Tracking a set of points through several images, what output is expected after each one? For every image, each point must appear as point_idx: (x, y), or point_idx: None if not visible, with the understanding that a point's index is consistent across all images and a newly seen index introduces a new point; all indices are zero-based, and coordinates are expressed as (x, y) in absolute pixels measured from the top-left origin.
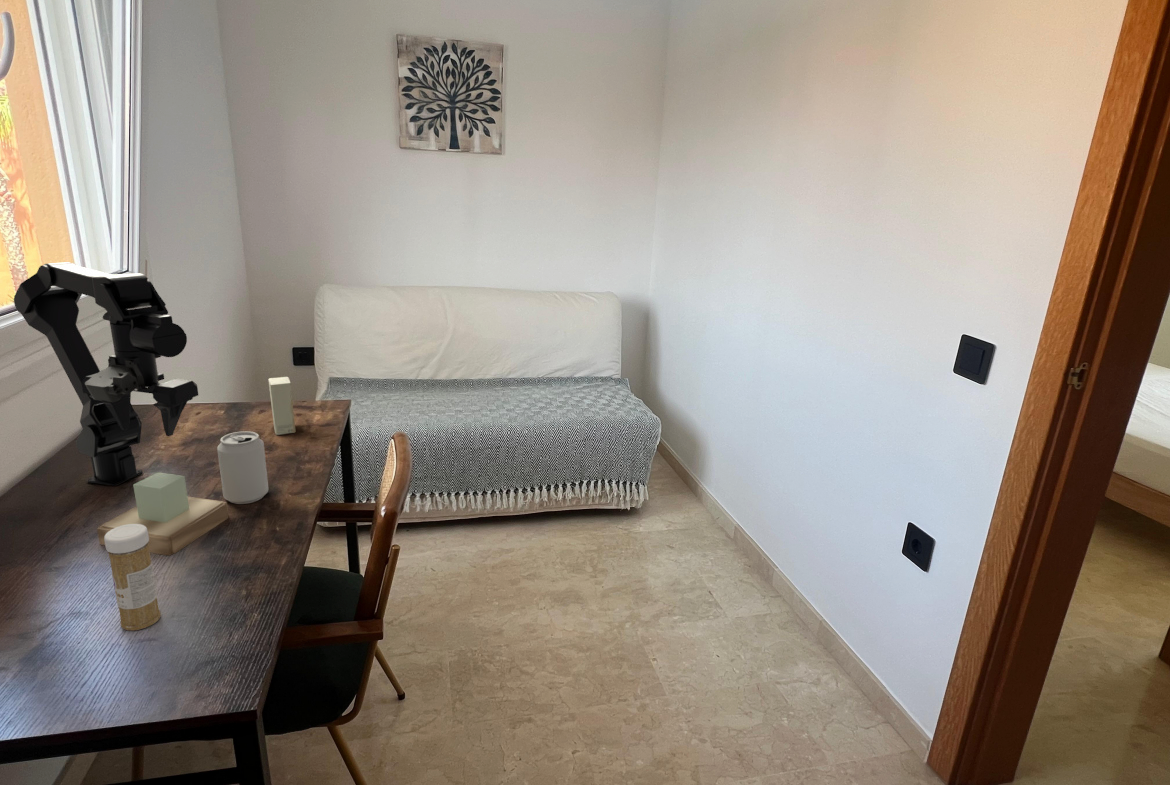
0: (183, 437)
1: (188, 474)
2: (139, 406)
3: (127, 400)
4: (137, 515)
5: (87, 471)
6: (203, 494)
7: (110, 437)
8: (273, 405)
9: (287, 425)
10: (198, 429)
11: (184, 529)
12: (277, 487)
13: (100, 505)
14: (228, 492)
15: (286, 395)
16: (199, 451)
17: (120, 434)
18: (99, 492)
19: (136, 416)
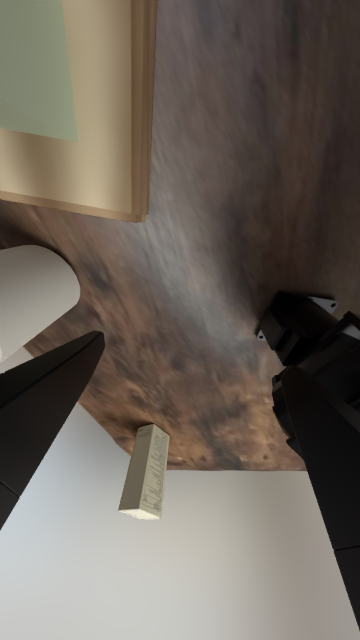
0: (253, 419)
1: (187, 337)
2: None
3: (346, 544)
4: (83, 30)
5: None
6: (120, 279)
7: (332, 353)
8: (145, 467)
9: (141, 436)
10: (246, 432)
11: None
12: None
13: (272, 210)
14: (28, 250)
15: (128, 485)
16: (214, 392)
17: (308, 371)
18: (297, 266)
19: (289, 438)
